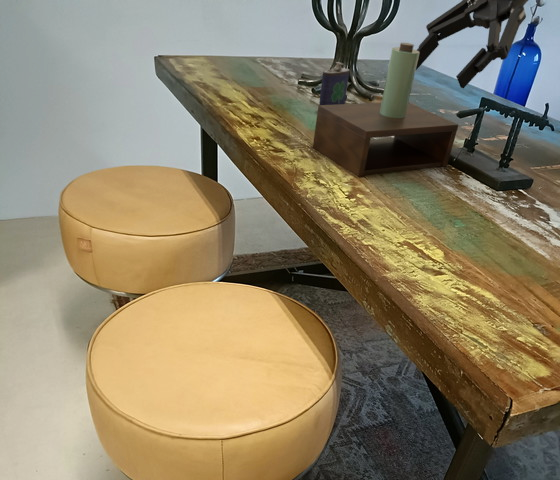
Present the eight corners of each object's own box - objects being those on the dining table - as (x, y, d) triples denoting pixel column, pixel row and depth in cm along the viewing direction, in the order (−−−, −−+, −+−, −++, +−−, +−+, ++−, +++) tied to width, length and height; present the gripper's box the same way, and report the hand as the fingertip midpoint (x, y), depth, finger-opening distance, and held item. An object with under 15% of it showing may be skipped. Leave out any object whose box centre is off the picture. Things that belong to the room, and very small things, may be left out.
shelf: (446, 166, 113) (458, 124, 108) (358, 176, 104) (366, 131, 99) (397, 140, 124) (406, 101, 119) (312, 147, 114) (318, 105, 109)
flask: (337, 107, 140) (345, 58, 133) (347, 110, 139) (355, 61, 132) (315, 112, 134) (321, 62, 127) (324, 116, 133) (332, 65, 126)
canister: (410, 117, 109) (426, 47, 101) (390, 119, 106) (405, 46, 99) (394, 110, 112) (409, 41, 104) (374, 111, 110) (387, 40, 102)
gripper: (575, 11, 100) (487, 106, 103) (474, -10, 116) (401, 72, 119) (568, -27, 94) (476, 74, 97) (463, -44, 110) (386, 43, 113)
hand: (434, 73), depth 108 cm, fingers open, 13 cm apart
